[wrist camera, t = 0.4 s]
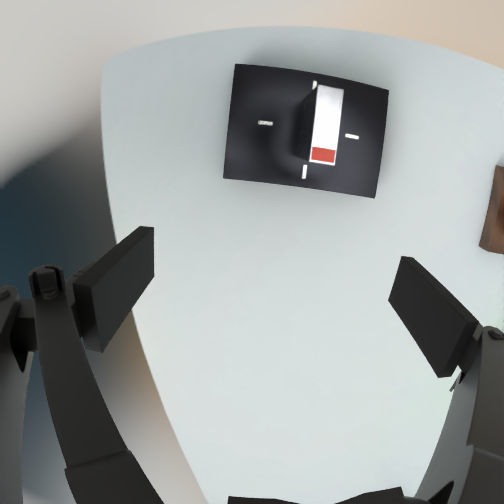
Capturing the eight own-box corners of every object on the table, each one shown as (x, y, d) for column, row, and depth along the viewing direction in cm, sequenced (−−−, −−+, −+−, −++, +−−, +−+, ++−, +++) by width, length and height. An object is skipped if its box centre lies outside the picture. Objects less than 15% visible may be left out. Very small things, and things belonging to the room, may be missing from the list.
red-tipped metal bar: (303, 98, 27) (318, 83, 19) (322, 102, 27) (344, 89, 19) (296, 156, 29) (309, 162, 21) (316, 159, 29) (335, 166, 21)
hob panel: (237, 70, 29) (235, 63, 26) (378, 93, 29) (389, 89, 26) (226, 175, 33) (222, 178, 30) (365, 193, 33) (375, 198, 30)
